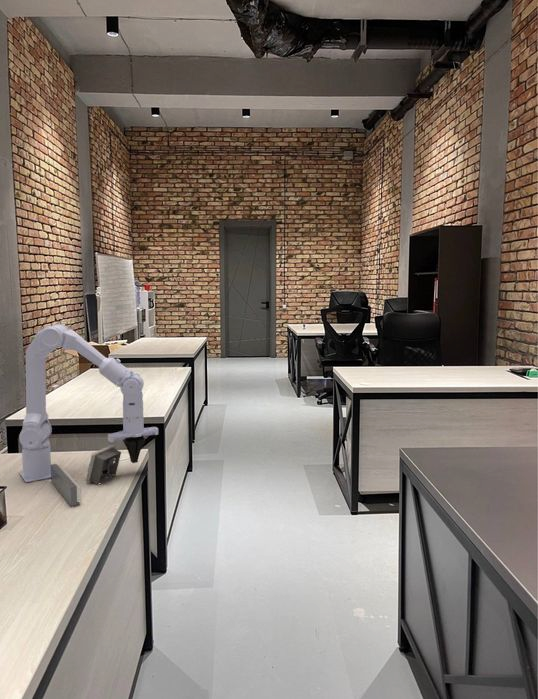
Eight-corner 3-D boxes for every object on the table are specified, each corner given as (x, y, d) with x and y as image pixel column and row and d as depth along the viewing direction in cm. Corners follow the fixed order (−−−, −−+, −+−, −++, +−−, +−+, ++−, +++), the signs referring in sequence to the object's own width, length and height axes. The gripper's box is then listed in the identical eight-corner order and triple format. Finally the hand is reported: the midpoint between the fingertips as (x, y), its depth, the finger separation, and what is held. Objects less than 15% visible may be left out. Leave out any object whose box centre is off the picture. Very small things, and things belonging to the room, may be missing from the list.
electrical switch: (106, 473, 156) (108, 442, 154) (121, 477, 154) (123, 446, 153) (85, 484, 147) (86, 452, 146) (100, 488, 145) (102, 456, 144)
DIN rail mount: (51, 482, 148) (50, 464, 147) (60, 480, 149) (59, 463, 149) (71, 506, 132) (70, 487, 131) (81, 504, 133) (80, 485, 133)
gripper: (113, 423, 146) (114, 470, 148) (162, 415, 155) (163, 461, 156) (104, 417, 152) (106, 463, 154) (152, 411, 160) (153, 454, 162)
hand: (134, 461), depth 155 cm, fingers closed
